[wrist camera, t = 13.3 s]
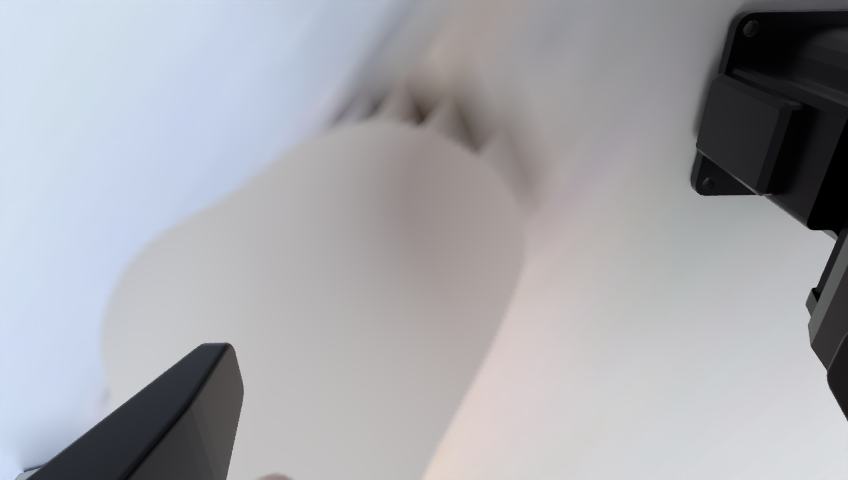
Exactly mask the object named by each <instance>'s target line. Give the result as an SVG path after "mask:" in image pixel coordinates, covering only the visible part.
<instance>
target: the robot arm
mask: <svg viewBox="0 0 848 480" xmlns="http://www.w3.org/2000/svg"><path fill="white" fill-rule="evenodd" d="M749 21H752V29H751V31H750V32H749V33H747V34H745V35H744V33H743V29H744V27H745V25H746V24H747V23H748V22H749ZM696 147H697V149H698V153H697V157H696V161H695V165H694V169H693V173H692V177H691V186H692V188H693V189H694V190H695V191H696V192H697V193H699V194H700V195H704V196H718V195H759V196H765V197H766V198H767V199H769V200H770V201H772V202H773V203H774V204H776V205H777V206H778V207H780V208H781V209H783V210H784V211H785V212H787V213H788V214H789V215H791V216H792V217H793V218H795V219H796V220H798V221H799V222H800V223H802V224H803V225H804V226H806V227H807V228H808V229H811V230H822V231H823V232H825V233H826V234H827V235H829V236H830V237H832V238H833V239H834V240H836V243H835V246H834V248H833V250H832V253H831V255H830V257H829V260H828V262H827V264H826V267H825V269H824V271H823V274H822V276H821V278H820V281H819V283H818V285H817V287H816V288H812V289H811V292H810V294H809V296H808V299H807V301H806V307H807V309H808V311H809V313H810V316H811V319H810V321H809V324H808V329H809V337H810V344H811V347H812V349H813V350H814V352H815V353H816V355H817V356H818V358H819V359H820V361H821V362H822V364H823V365H824V367H825V368H826V370H827V382H828V385H829V388H830V390H831V391H832V393H833V395H834V397H835V399H836V401H837V402H838V404H839V406H840V408H841V410H842V412H843V413H844V415H845V417H846V419H847V421H848V9H838V10H773V11H746V12H742V13H741V14H739V15H738V16H736V18H735V19H734V20H733V21H732V23H731V26H730V28H729V32H728V36H727V40H726V44H725V48H724V52H723V56H722V60H721V63H720V67H719V71H718V75H717V76H716V77H715V78H714V79H713V80H712V83H711V87H710V91H709V95H708V99H707V103H706V107H705V111H704V115H703V119H702V123H701V127H700V131H699V135H698V139H697V143H696ZM706 178H710V181H709V183H707V184H706V185H703V186H702V183H703V181H704V180H705V179H706ZM243 395H244V389H243V382H242V378H241V373H240V369H239V365H238V361H237V357H236V353H235V350H234V348H233V346H232V345H231V344H229V343H205V344H201V345H200V346H198V347H197V348H196V349H194V350H193V351H191V352H190V353H189V354H188V355H186V356H185V357H184V358H182V359H181V360H180V361H178V362H177V363H176V364H175V365H173V366H172V367H171V368H169V369H168V370H167V371H165V372H164V373H163V374H162V375H160V376H159V377H158V378H156V379H155V380H154V381H153V382H151V383H150V384H149V385H147V386H146V387H145V388H144V389H142V390H141V391H140V392H138V393H137V394H136V395H134V396H133V397H132V398H130V399H129V400H128V401H127V402H125V403H124V404H123V405H121V406H120V407H119V408H117V409H116V410H115V411H114V412H112V413H111V414H110V415H108V416H107V417H106V418H104V419H103V420H102V421H101V422H99V423H98V424H97V425H95V426H94V427H93V428H91V429H90V430H89V431H88V432H86V433H85V434H84V435H82V436H81V437H80V438H78V439H77V440H76V441H75V442H73V443H72V444H71V445H69V446H68V447H67V448H66V449H64V450H63V451H62V452H60V453H59V454H58V455H56V456H55V457H54V458H53V459H51V460H50V461H49V462H47V463H46V464H45V465H43V466H42V467H41V468H40V469H38V470H37V471H36V472H34V473H33V474H32V475H30V476H29V477H28V478H27V479H25V480H226V478H227V474H228V469H229V464H230V459H231V455H232V450H233V445H234V440H235V436H236V431H237V426H238V421H239V417H240V412H241V407H242V402H243Z"/></svg>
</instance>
